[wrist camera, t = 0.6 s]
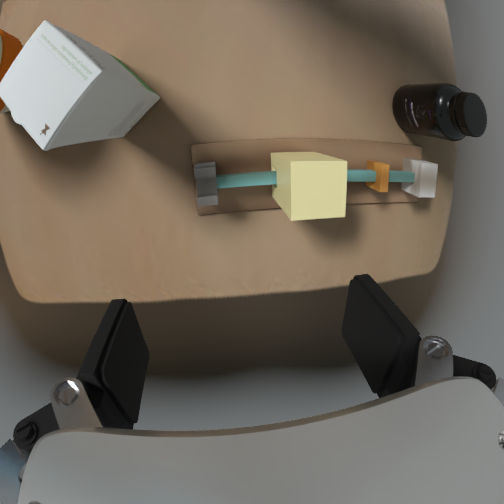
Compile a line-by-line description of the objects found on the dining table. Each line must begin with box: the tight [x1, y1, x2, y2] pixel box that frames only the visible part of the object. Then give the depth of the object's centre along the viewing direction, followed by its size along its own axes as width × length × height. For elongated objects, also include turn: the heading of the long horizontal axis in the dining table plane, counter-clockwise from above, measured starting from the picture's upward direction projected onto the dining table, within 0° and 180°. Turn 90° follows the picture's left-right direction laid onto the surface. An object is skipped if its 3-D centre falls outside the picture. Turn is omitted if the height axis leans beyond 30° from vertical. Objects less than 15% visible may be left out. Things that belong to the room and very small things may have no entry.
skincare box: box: [0, 20, 160, 151], centre depth 17 cm, size 8×7×16 cm
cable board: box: [191, 138, 438, 215], centre depth 29 cm, size 8×30×5 cm, turn 94°
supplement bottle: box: [393, 83, 487, 141], centre depth 23 cm, size 7×7×12 cm
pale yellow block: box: [271, 152, 347, 221], centre depth 26 cm, size 5×5×8 cm
